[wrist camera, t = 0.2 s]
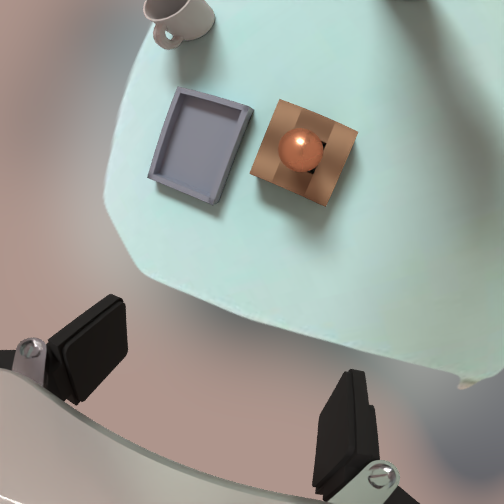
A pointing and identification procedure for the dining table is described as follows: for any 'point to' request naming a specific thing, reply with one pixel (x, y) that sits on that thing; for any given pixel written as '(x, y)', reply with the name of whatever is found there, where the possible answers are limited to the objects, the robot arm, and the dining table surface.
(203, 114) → the tray
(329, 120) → the hitch block
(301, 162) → the pin
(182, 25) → the cup
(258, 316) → the dining table surface
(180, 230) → the dining table surface
